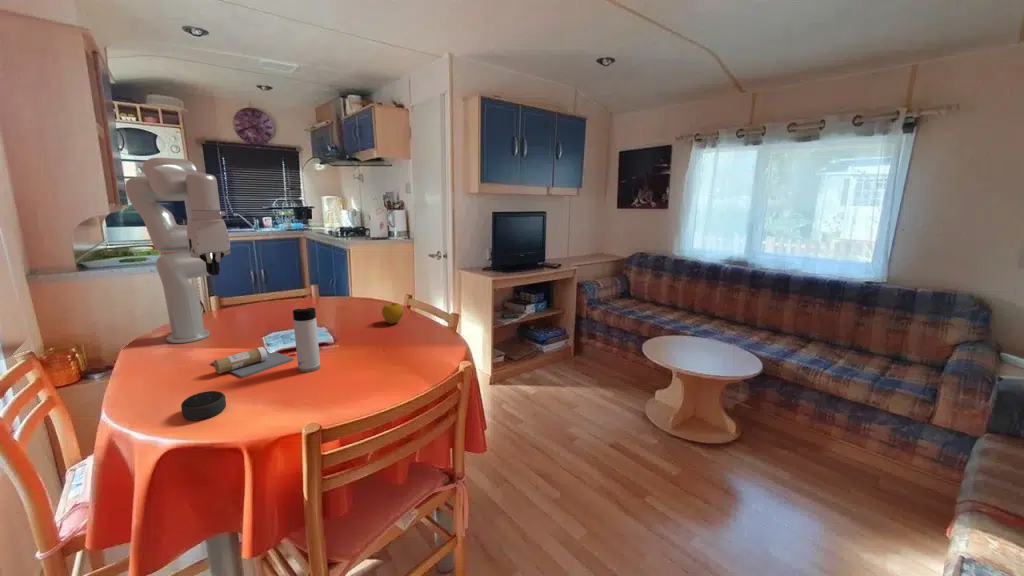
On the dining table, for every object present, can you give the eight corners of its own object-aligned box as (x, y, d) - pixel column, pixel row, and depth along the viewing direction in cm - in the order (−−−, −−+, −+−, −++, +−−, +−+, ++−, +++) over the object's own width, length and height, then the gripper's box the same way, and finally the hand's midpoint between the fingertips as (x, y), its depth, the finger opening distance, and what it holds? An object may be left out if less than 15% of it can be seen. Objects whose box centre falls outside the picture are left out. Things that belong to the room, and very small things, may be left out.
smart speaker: (212, 422, 100) (210, 407, 99) (173, 422, 99) (171, 407, 98) (234, 403, 108) (232, 389, 108) (198, 403, 108) (196, 389, 107)
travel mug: (298, 374, 126) (292, 311, 121) (298, 366, 131) (292, 306, 127) (320, 370, 129) (315, 309, 124) (319, 362, 134) (314, 304, 130)
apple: (400, 326, 171) (399, 306, 169) (379, 326, 171) (378, 305, 169) (406, 320, 180) (405, 300, 178) (386, 319, 180) (385, 299, 178)
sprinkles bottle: (220, 376, 122) (268, 361, 133) (217, 362, 121) (266, 348, 131) (214, 371, 125) (262, 357, 135) (212, 357, 124) (260, 344, 134)
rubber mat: (211, 364, 131) (211, 362, 131) (262, 348, 144) (262, 346, 144) (242, 378, 122) (242, 376, 122) (293, 360, 136) (293, 358, 136)
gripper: (226, 213, 133) (233, 269, 137) (170, 215, 120) (180, 276, 125) (238, 215, 129) (245, 272, 134) (182, 217, 117) (191, 280, 121)
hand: (213, 274), depth 129 cm, fingers closed
